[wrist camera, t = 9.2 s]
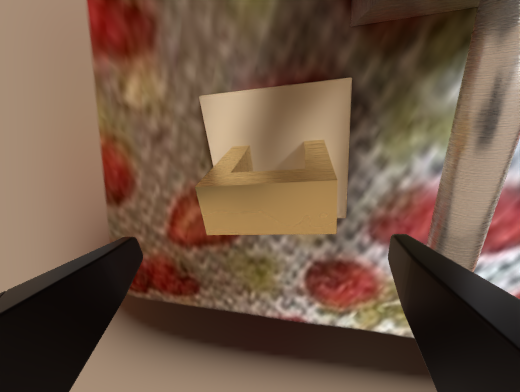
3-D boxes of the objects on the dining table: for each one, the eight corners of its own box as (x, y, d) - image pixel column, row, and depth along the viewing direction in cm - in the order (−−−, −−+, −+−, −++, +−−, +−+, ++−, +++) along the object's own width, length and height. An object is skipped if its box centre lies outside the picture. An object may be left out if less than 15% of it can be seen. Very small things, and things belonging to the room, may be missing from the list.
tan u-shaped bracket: (323, 139, 15) (337, 180, 9) (323, 177, 16) (336, 233, 11) (232, 146, 16) (194, 186, 11) (238, 181, 17) (207, 235, 12)
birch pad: (348, 77, 14) (351, 78, 14) (343, 210, 18) (346, 217, 17) (204, 95, 16) (198, 96, 15) (228, 213, 20) (224, 220, 19)
